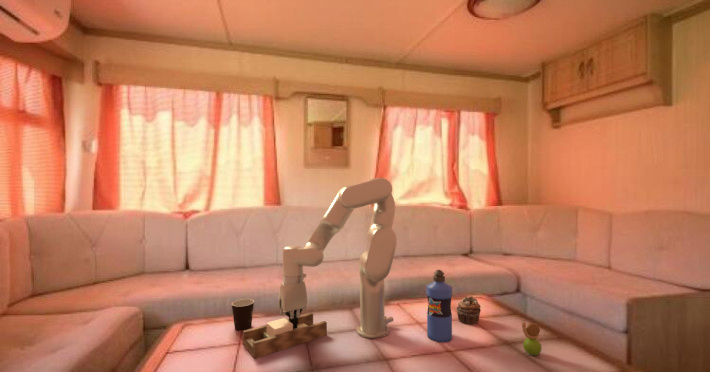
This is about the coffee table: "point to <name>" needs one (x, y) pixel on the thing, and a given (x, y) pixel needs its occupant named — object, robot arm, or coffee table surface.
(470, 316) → the cupcake
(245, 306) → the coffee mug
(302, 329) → the box
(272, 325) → the cream block
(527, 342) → the snail figurine
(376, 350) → the coffee table surface
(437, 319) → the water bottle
